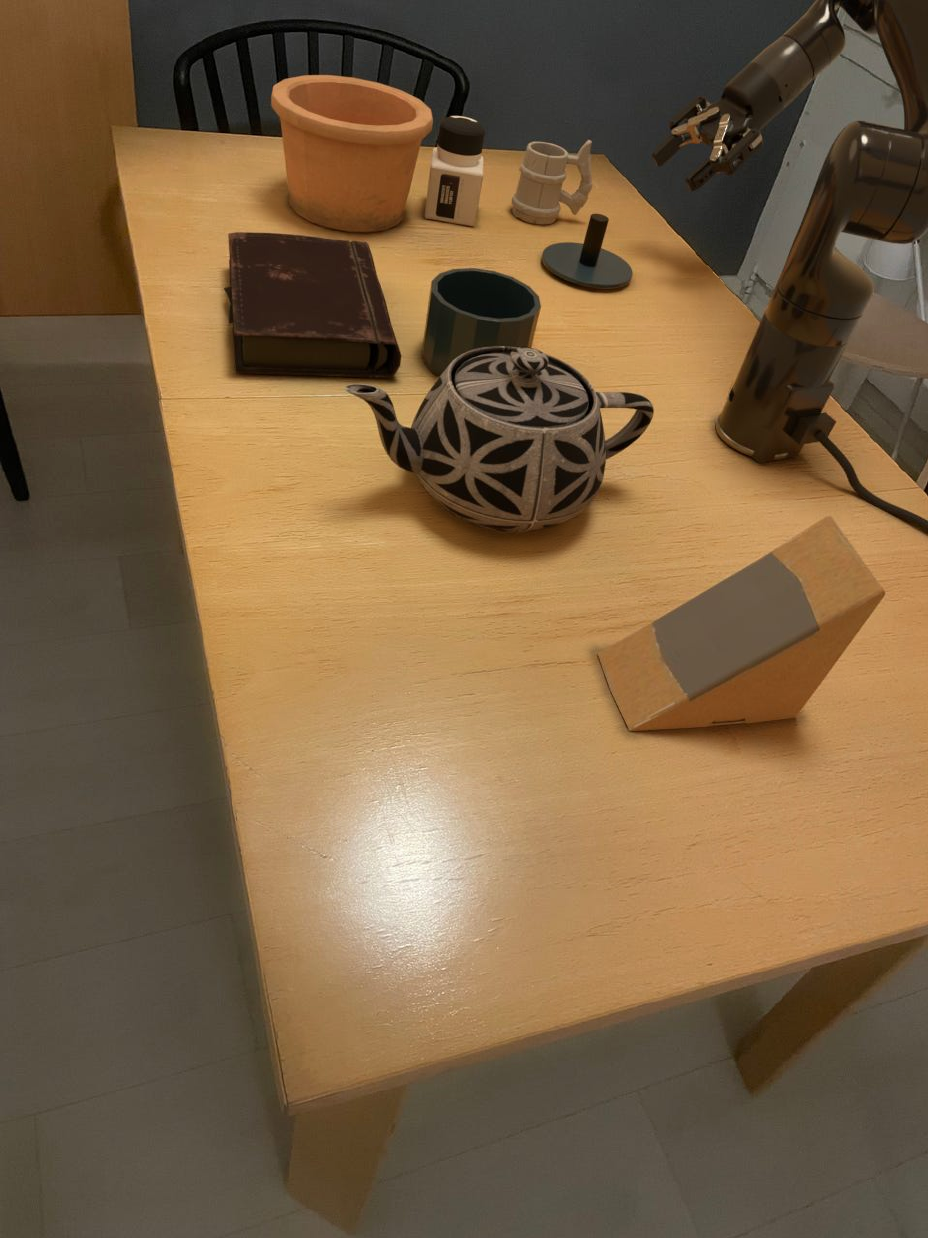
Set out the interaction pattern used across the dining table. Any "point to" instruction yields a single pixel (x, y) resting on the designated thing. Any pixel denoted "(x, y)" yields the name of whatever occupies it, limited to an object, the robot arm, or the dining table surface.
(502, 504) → the teapot
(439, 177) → the container
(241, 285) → the diary
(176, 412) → the dining table surface
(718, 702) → the sandwich container
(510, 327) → the pot
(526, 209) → the mug
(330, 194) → the pottery
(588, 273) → the lid
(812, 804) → the dining table surface
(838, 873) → the dining table surface
